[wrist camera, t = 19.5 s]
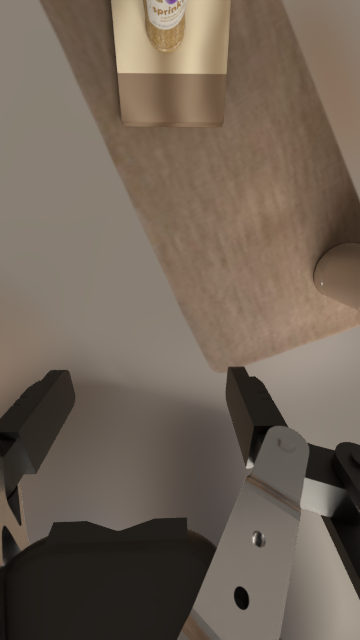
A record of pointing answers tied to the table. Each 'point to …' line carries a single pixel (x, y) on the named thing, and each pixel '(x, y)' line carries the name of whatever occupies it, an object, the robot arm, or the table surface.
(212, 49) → the board
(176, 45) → the sprinkles bottle
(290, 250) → the table surface
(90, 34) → the table surface
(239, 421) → the robot arm
